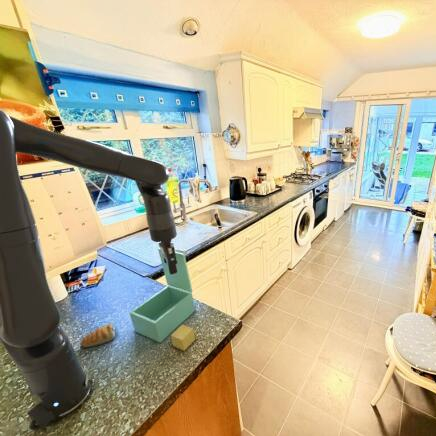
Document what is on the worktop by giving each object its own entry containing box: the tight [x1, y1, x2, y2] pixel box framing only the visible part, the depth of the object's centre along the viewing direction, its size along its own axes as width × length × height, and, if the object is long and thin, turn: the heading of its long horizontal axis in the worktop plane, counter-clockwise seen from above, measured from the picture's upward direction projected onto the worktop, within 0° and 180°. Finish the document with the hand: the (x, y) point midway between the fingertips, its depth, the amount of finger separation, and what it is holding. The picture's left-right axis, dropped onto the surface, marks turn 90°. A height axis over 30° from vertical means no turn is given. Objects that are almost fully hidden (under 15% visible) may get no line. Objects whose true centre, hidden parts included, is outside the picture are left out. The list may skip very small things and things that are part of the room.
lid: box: [157, 247, 193, 293], centre depth 93 cm, size 17×13×5 cm
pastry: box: [80, 323, 116, 348], centre depth 82 cm, size 9×7×4 cm
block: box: [170, 324, 196, 352], centre depth 81 cm, size 5×5×5 cm
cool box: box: [129, 285, 196, 343], centre depth 89 cm, size 17×13×9 cm
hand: (170, 267), depth 81 cm, fingers open, 8 cm apart
